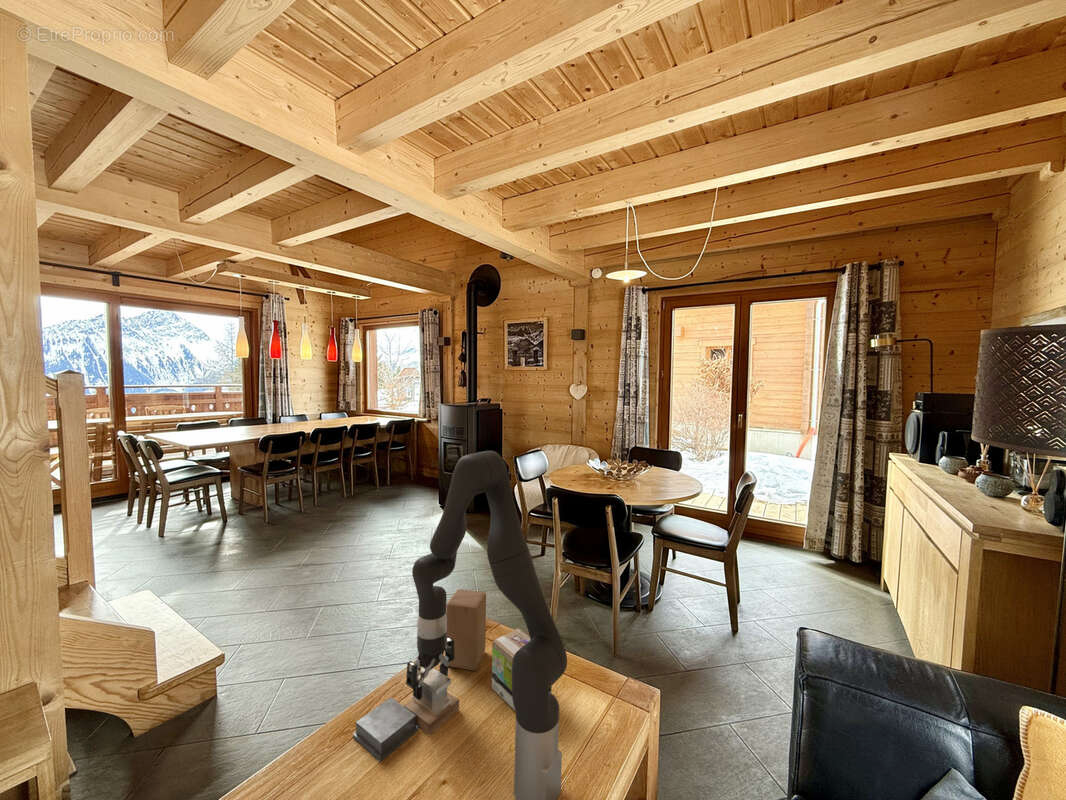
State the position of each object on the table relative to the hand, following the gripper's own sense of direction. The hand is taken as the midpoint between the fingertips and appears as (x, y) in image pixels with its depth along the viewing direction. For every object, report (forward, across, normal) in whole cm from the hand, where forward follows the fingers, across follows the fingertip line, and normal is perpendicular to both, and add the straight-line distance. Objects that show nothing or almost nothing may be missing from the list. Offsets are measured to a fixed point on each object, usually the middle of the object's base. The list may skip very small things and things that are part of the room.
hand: (431, 688), depth 112 cm
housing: (+4, 0, 0) cm, 4 cm away
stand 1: (+7, -11, +4) cm, 13 cm away
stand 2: (+7, 0, 0) cm, 7 cm away
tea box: (+7, +19, -15) cm, 25 cm away
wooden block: (+7, +21, +8) cm, 23 cm away
